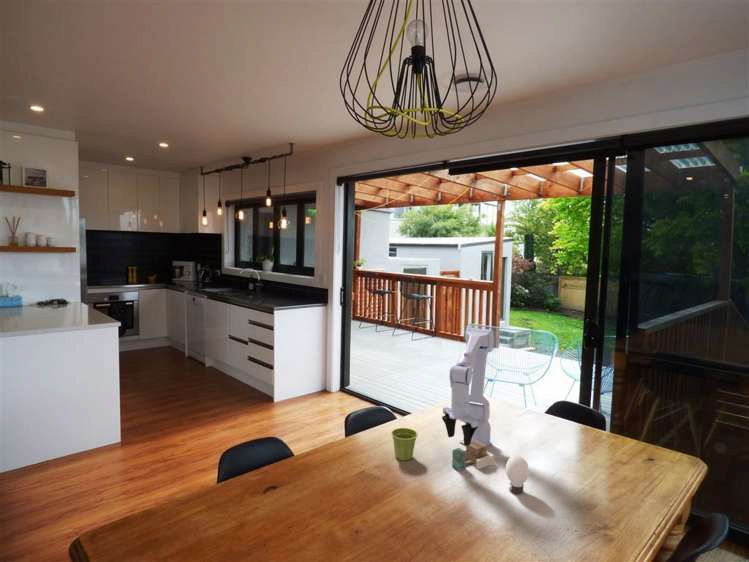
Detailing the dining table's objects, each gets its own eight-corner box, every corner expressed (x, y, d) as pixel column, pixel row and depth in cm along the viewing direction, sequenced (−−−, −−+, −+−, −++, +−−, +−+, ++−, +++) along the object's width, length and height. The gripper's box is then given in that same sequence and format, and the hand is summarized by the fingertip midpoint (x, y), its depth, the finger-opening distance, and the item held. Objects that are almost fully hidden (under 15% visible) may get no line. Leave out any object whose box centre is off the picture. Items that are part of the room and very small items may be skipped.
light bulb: (512, 497, 131) (513, 462, 131) (501, 485, 138) (502, 452, 137) (532, 495, 133) (533, 460, 132) (520, 483, 139) (521, 450, 139)
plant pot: (417, 451, 161) (417, 428, 160) (417, 464, 151) (417, 439, 151) (391, 450, 162) (392, 427, 161) (390, 462, 152) (390, 438, 152)
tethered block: (475, 456, 157) (476, 440, 157) (486, 462, 153) (487, 445, 153) (450, 465, 151) (450, 448, 150) (460, 472, 146) (461, 454, 146)
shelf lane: (474, 453, 160) (475, 445, 160) (494, 463, 152) (494, 455, 152) (459, 458, 156) (459, 450, 155) (478, 469, 148) (478, 460, 148)
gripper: (436, 397, 151) (435, 435, 152) (467, 410, 139) (465, 452, 140) (451, 393, 155) (450, 431, 156) (482, 406, 143) (481, 446, 144)
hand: (458, 440), depth 149 cm, fingers open, 7 cm apart
